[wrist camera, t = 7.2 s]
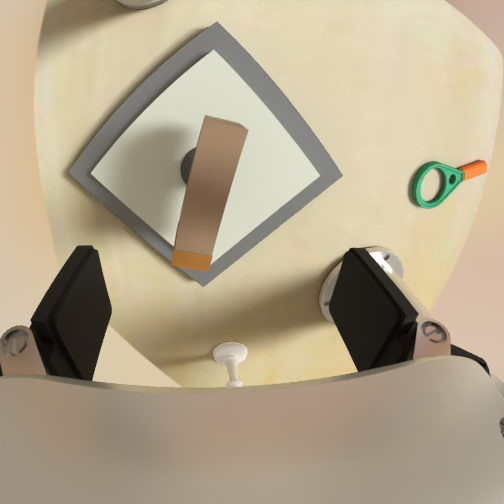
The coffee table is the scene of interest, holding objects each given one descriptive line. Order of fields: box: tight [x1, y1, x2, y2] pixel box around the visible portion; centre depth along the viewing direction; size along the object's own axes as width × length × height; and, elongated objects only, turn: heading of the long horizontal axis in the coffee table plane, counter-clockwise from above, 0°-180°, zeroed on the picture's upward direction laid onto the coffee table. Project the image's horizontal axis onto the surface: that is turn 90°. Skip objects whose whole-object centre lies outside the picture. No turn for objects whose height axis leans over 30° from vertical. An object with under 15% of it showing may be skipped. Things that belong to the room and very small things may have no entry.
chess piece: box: [213, 342, 247, 387], centre depth 34 cm, size 5×5×10 cm
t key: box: [171, 115, 249, 272], centre depth 18 cm, size 9×2×7 cm, turn 163°
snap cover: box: [68, 22, 343, 287], centre depth 22 cm, size 18×18×3 cm
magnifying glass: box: [412, 160, 487, 209], centre depth 28 cm, size 15×6×2 cm, turn 109°
